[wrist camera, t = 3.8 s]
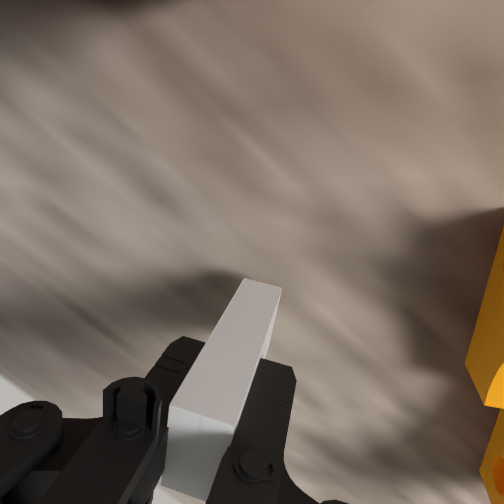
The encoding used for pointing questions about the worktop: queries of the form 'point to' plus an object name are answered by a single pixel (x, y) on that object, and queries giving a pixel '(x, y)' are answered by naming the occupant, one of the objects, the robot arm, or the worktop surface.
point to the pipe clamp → (491, 372)
